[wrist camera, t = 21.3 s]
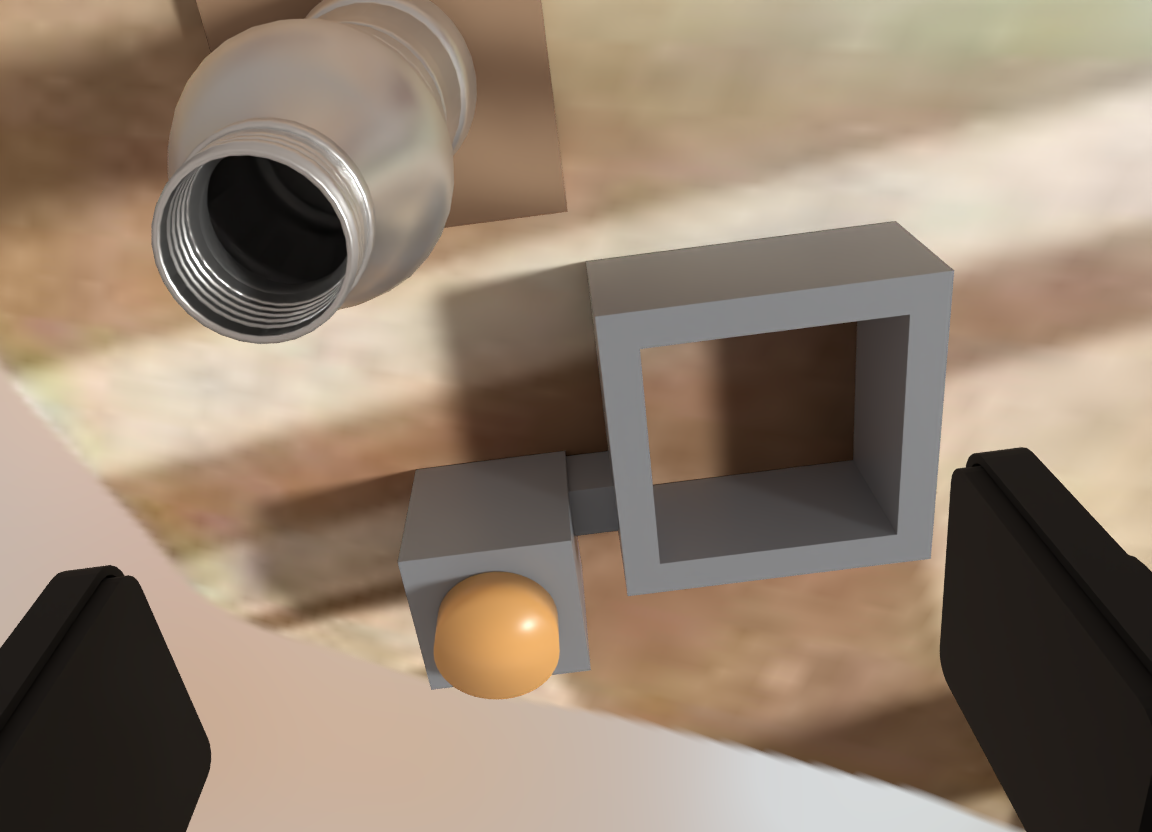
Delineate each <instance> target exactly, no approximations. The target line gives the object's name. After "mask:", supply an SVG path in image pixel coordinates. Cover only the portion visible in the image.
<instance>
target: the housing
mask: <svg viewBox="0 0 1152 832" xmlns="http://www.w3.org/2000/svg"><path fill="white" fill-rule="evenodd" d="M586 268H587V276H588V285H589V293H590V301H591V310H592V318H593V327H594V335H595V343H596V352H597V360H598V369H599V377H600V385H601V394H602V402H603V411H604V419H605V427H606V436H607V444H608V451H604V452H596V453H588V454H580V455H573V456H566V455H565V451H560V452H552V453H544V454H536V455H528V456H520V457H512V458H505V459H497V460H489V461H481V462H473V463H465V464H457V465H449V466H441V467H433V468H425V469H417V470H416V472H415V477H414V482H413V487H412V492H411V497H410V502H409V507H408V512H407V517H406V522H405V527H404V533H403V538H402V543H401V548H400V553H399V558H398V565H399V569H400V573H401V577H402V581H403V584H404V588H405V592H406V596H407V599H408V603H409V607H410V611H411V615H412V618H413V622H414V626H415V630H416V634H417V637H418V641H419V645H420V649H421V652H422V656H423V660H424V664H425V668H426V671H427V675H428V679H429V683H430V686H431V689H441V688H449V687H453V686H452V685H451V684H450V683H448V682H447V681H446V680H445V679H444V678H443V676H442V675H441V674H440V672H439V670H438V668H437V666H436V663H435V660H434V641H435V633H436V625H437V617H438V611H439V607H440V604H441V602H442V600H443V598H444V597H445V595H446V594H447V593H448V592H449V591H450V590H451V589H452V588H453V587H454V586H455V585H457V584H458V583H459V582H461V581H463V580H465V579H467V578H469V577H471V576H474V575H478V574H481V573H487V572H509V573H514V574H518V575H522V576H524V577H527V578H529V579H531V580H533V581H535V582H536V583H538V584H539V585H541V586H542V587H543V588H544V589H545V590H546V591H547V592H548V593H549V594H550V596H551V597H552V599H553V600H554V603H555V605H556V608H557V612H558V627H559V649H560V653H559V660H558V664H557V666H556V668H555V670H554V672H553V673H552V675H555V674H564V673H572V672H580V671H588V670H591V669H590V657H589V645H588V633H587V621H586V609H585V597H584V585H583V574H582V565H581V558H580V551H579V544H578V538H577V536H578V535H586V534H594V533H602V532H610V531H618V533H619V540H620V546H621V553H622V560H623V567H624V574H625V580H626V587H627V594H628V596H632V595H640V594H648V593H657V592H665V591H673V590H681V589H689V588H697V587H705V586H713V585H721V584H729V583H737V582H746V581H754V580H762V579H770V578H778V577H786V576H794V575H802V574H810V573H818V572H826V571H835V570H843V569H851V568H859V567H867V566H875V565H883V564H891V563H899V562H907V561H915V560H924V559H931V548H932V536H933V524H934V511H935V499H936V487H937V475H938V462H939V450H940V438H941V425H942V413H943V401H944V388H945V376H946V364H947V352H948V339H949V327H950V315H951V302H952V290H953V278H954V270H953V269H952V268H950V267H949V266H948V265H947V264H946V263H945V262H943V261H942V260H941V259H940V258H939V257H937V256H936V255H935V254H934V253H933V252H932V251H930V250H929V249H928V248H927V247H926V246H924V245H923V244H922V243H921V242H920V241H919V240H917V239H916V238H915V237H914V236H913V235H911V234H910V233H909V232H908V231H907V230H906V229H904V228H903V227H902V226H901V225H900V224H898V223H897V222H896V221H895V222H887V223H880V224H872V225H864V226H857V227H849V228H841V229H833V230H826V231H818V232H810V233H802V234H795V235H787V236H779V237H772V238H764V239H756V240H748V241H741V242H733V243H725V244H717V245H710V246H702V247H694V248H687V249H679V250H671V251H663V252H656V253H648V254H640V255H632V256H625V257H617V258H609V259H601V260H594V261H586ZM855 321H857V346H856V380H855V414H854V448H853V460H850V461H842V462H834V463H826V464H818V465H810V466H802V467H794V468H786V469H778V470H770V471H762V472H754V473H746V474H739V475H731V476H723V477H715V478H707V479H699V480H691V481H683V482H675V483H667V484H659V485H653V484H652V474H651V463H650V452H649V442H648V431H647V421H646V410H645V399H644V389H643V378H642V367H641V357H640V349H643V348H651V347H659V346H667V345H675V344H682V343H690V342H698V341H706V340H714V339H721V338H729V337H737V336H745V335H753V334H761V333H768V332H776V331H784V330H792V329H800V328H808V327H815V326H823V325H831V324H839V323H847V322H855Z"/></svg>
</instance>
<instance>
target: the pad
mask: <svg viewBox="0 0 1152 832" xmlns="http://www.w3.org/2000/svg"><path fill="white" fill-rule="evenodd" d="M321 1H323V0H196V2H197V6H198V9H199V13H200V16H201V20H202V23H203V27H204V30H205V34H206V37H207V40H208V44H209V47H210V51H211V53H212V52H213V51H214V50H215V49H216V48H218V47H219V46H220V45H221V44H222V43H223V42H225V41H226V40H228V39H230V38H232V37H234V36H235V35H237V34H239V33H241V32H243V31H245V30H247V29H249V28H251V27H254V26H258V25H262V24H266V23H270V22H274V21H278V20H287V19H305V17H306V16H307V15H308V14H309V12H310V11H311V10H312V9H313V8H314V7H315V6H316V5H318V4H319V3H320V2H321ZM429 1H431V2H432V3H434V4H435V5H437V6H438V7H439V8H440V9H441V10H442V11H443V12H444V13H445V14H446V15H447V16H448V17H449V18H450V19H451V20H452V21H453V23H454V24H455V26H456V27H457V29H458V30H459V32H460V33H461V35H462V36H463V38H464V40H465V43H466V45H467V47H468V50H469V52H470V54H471V57H472V61H473V65H474V70H475V74H476V89H477V99H476V105H475V112H474V117H473V120H472V123H471V126H470V129H469V131H468V134H467V136H466V138H465V139H464V141H463V143H462V144H461V146H460V148H459V150H458V151H457V152H456V153H455V154H454V155H453V165H454V188H453V194H452V201H451V208H450V212H449V215H448V218H447V221H446V223H445V226H444V228H446V227H453V226H461V225H469V224H476V223H484V222H492V221H499V220H507V219H515V218H522V217H530V216H538V215H545V214H553V213H561V212H568V211H567V204H566V196H565V188H564V180H563V172H562V164H561V156H560V148H559V140H558V132H557V124H556V116H555V108H554V100H553V92H552V84H551V76H550V68H549V60H548V52H547V44H546V36H545V28H544V20H543V12H542V4H541V0H429Z"/></svg>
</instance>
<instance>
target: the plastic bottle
mask: <svg viewBox="0 0 1152 832" xmlns="http://www.w3.org/2000/svg"><path fill="white" fill-rule="evenodd" d="M476 99H477V89H476V74H475V70H474V65H473V61H472V57H471V54H470V52H469V50H468V47H467V45H466V43H465V40H464V38H463V36H462V35H461V33H460V32H459V30H458V29H457V27H456V26H455V24H454V23H453V21H452V20H451V19H450V18H449V17H448V16H447V15H446V14H445V13H444V12H443V11H442V10H441V9H440V8H439V7H438V6H437V5H435V4H434V3H432V2H431V1H429V0H323V1H321V2H320V3H319V4H318V5H316V6H315V7H314V8H313V9H312V10H311V11H310V12H309V14H308V15H307V16H306V17H305V19H287V20H278V21H274V22H270V23H266V24H262V25H258V26H254V27H251V28H249V29H247V30H245V31H243V32H241V33H239V34H237V35H235V36H234V37H232V38H230V39H228V40H226V41H225V42H223V43H222V44H221V45H220V46H219V47H218V48H216V49H215V50H214V51H213V52H212V53H210V54H209V55H208V56H207V57H206V58H204V60H203V61H202V62H201V64H200V65H199V66H198V68H197V69H196V70H195V72H194V73H193V74H192V76H191V77H190V78H189V80H188V81H187V83H186V85H185V87H184V90H183V92H182V94H181V96H180V99H179V101H178V103H177V105H176V107H175V112H174V117H173V122H172V126H171V131H170V136H169V142H168V179H169V181H168V182H167V183H166V185H165V187H164V189H163V191H162V193H161V195H160V198H159V200H158V202H157V204H156V207H155V211H154V216H153V221H152V249H153V253H154V258H155V263H156V266H157V268H158V271H159V273H160V275H161V278H162V280H163V282H164V284H165V285H166V287H167V289H168V290H169V292H170V293H171V295H172V296H173V298H174V299H175V300H176V301H177V302H178V304H179V305H180V306H181V307H182V308H183V309H184V310H185V311H186V312H187V313H188V314H189V315H190V316H192V317H193V318H194V319H196V320H197V321H198V322H200V323H201V324H202V325H203V326H205V327H207V328H209V329H211V330H213V331H215V332H217V333H218V334H220V335H223V336H226V337H229V338H232V339H235V340H238V341H243V342H250V343H257V344H267V343H280V342H285V341H289V340H293V339H297V338H299V337H301V336H303V335H306V334H308V333H310V332H312V331H314V330H315V329H316V328H318V327H319V326H321V325H322V324H323V323H325V322H326V321H327V320H328V319H330V318H331V317H332V315H333V314H334V313H335V312H336V311H337V310H339V309H343V308H348V307H352V306H357V305H359V304H362V303H364V302H366V301H369V300H371V299H373V298H375V297H378V296H380V295H382V294H384V293H386V292H389V291H391V290H392V289H393V288H395V287H396V286H398V285H399V284H400V283H402V282H403V281H405V280H406V279H407V278H409V277H410V276H411V275H412V274H413V273H414V272H415V271H416V270H417V269H418V268H419V267H420V265H421V264H422V263H423V262H424V261H425V260H426V259H427V258H428V256H429V255H430V253H431V251H432V250H433V248H434V246H435V245H436V243H437V242H438V240H439V238H440V237H441V235H442V232H443V229H444V226H445V223H446V221H447V218H448V215H449V212H450V208H451V201H452V194H453V188H454V165H453V155H454V154H455V153H456V152H457V151H458V150H459V148H460V146H461V144H462V143H463V141H464V139H465V138H466V136H467V134H468V131H469V129H470V126H471V123H472V120H473V117H474V112H475V105H476Z"/></svg>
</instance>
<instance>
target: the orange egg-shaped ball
mask: <svg viewBox="0 0 1152 832" xmlns="http://www.w3.org/2000/svg"><path fill="white" fill-rule="evenodd" d="M559 653H560V649H559V627H558V612H557V608H556V605H555V603H554V600H553V599H552V597H551V596H550V594H549V593H548V592H547V591H546V590H545V589H544V588H543V587H542V586H541V585H539V584H538V583H536V582H535V581H533V580H531V579H529V578H527V577H524V576H522V575H518V574H514V573H509V572H487V573H481V574H478V575H474V576H471V577H469V578H467V579H465V580H463V581H461V582H459V583H458V584H457V585H455V586H454V587H453V588H452V589H451V590H450V591H449V592H448V593H447V594H446V595H445V597H444V598H443V600H442V602H441V604H440V607H439V611H438V617H437V625H436V633H435V641H434V660H435V663H436V666H437V668H438V670H439V672H440V674H441V675H442V676H443V678H444V679H445V680H446V681H447V682H448V683H450V684H451V685H452V686H453V687H455V688H457V689H458V690H460V691H462V692H464V693H466V694H469V695H472V696H475V697H479V698H485V699H508V698H514V697H517V696H521V695H524V694H526V693H529V692H531V691H533V690H535V689H536V688H538V687H539V686H541V685H542V684H543V683H544V682H546V681H547V680H548V678H549V677H550V676H551V675H552V673H553V672H554V670H555V668H556V666H557V664H558V660H559Z"/></svg>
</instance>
